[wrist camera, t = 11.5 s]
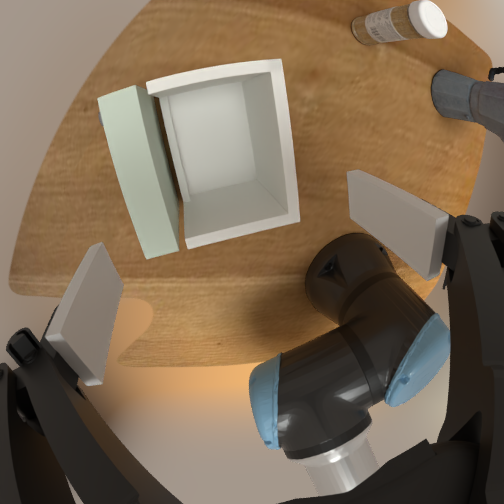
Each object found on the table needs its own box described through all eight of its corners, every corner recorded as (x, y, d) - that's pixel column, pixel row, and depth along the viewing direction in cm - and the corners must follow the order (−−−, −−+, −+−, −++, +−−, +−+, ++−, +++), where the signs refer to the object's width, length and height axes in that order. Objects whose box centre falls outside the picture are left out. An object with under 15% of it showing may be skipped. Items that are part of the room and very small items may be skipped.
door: (179, 202, 34) (179, 250, 23) (147, 211, 33) (133, 262, 23) (152, 92, 26) (135, 85, 16) (117, 103, 26) (83, 104, 16)
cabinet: (264, 183, 35) (300, 221, 25) (144, 213, 33) (129, 264, 23) (246, 73, 27) (281, 58, 17) (114, 104, 26) (78, 106, 15)
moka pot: (421, 122, 35) (527, 159, 18) (432, 41, 28) (535, 49, 11) (453, 139, 37) (543, 177, 20) (463, 66, 30) (554, 84, 13)
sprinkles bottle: (382, 39, 27) (454, 33, 16) (361, 49, 28) (434, 42, 16) (366, 13, 25) (435, -4, 13) (343, 22, 25) (413, 2, 14)
